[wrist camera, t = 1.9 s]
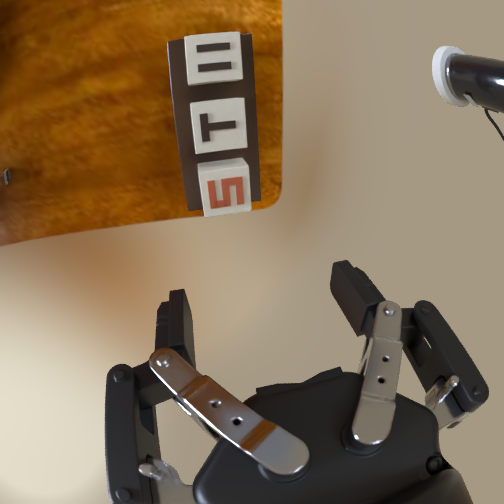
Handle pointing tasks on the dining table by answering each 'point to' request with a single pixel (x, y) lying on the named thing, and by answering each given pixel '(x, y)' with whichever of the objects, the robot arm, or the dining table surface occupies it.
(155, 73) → the dining table surface
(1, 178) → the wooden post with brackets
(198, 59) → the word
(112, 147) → the dining table surface
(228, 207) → the tile
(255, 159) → the tile rack
